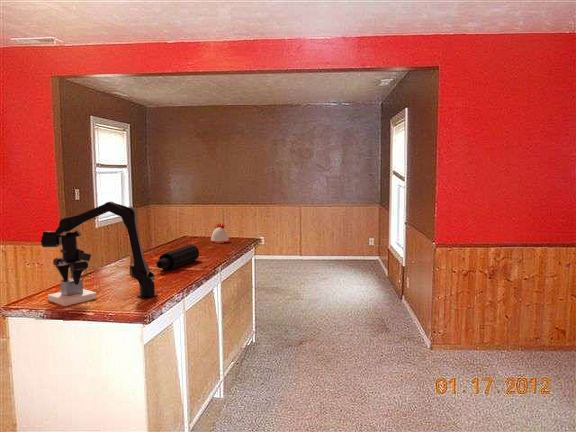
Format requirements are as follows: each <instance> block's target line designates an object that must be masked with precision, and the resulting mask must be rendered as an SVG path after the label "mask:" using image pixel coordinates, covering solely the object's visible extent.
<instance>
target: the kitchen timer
mask: <svg viewBox="0 0 576 432" xmlns="http://www.w3.org/2000/svg"><path fill="white" fill-rule="evenodd" d="M225 227H226V225H225V224H224V223H221V222H220V223H219V222H218V223H217V224H216V225H215V226H214V228H215V229H214V230H213V232H212V235H211V237H210V242H211V241H213V242H225V241H229V242H230V238H229V234H228V233H227V230H225Z"/></svg>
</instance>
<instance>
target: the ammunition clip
mask: <svg viewBox="0 0 576 432" xmlns="http://www.w3.org/2000/svg"><path fill="white" fill-rule="evenodd" d="M129 264H130V265H129V275H130V276H132V270H131V267H130V266H131V265H132V264H134V258H133V253H132V251H131V252H130V262H129Z"/></svg>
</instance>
